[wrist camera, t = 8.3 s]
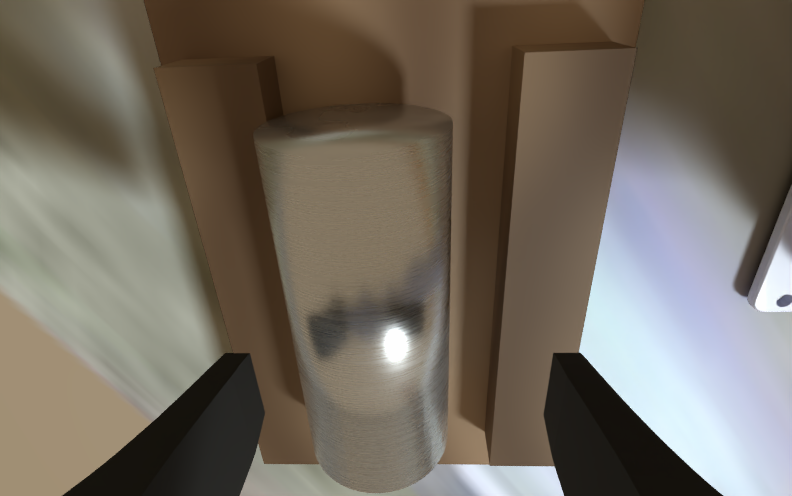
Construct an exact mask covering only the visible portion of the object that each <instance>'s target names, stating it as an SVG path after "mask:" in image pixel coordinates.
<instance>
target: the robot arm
mask: <svg viewBox="0 0 792 496" xmlns="http://www.w3.org/2000/svg"><path fill="white" fill-rule="evenodd" d="M783 295H784V296H783ZM781 296H783V297H782V298H780V299H779V300H778V298H779V297H781ZM747 300H748V303H749V304H750V305H751V306H752V307H753V308H754V309H756V310H757V311H761V312H792V185H791V187H790V190H789V192H788V195H787V197H786V200H785V202H784V205H783V207H782V210H781V213H780V215H779V218H778V220H777V223H776V225H775V228H774V230H773V233H772V235H771V238H770V240H769V243H768V246H767V248H766V251H765V253H764V256H763V258H762V261H761V263H760V266H759V268H758V271H757V274H756V276H755V279H754V281H753V284H752V286H751V289H750V291H749V294H748V298H747ZM543 415H544V420H545V425H546V431H547V436H548V441H549V445H550V450H551V455H552V459H553V462H554V465H555V468H556V471H557V475H558V478H559V481H560V484H561V487H562V490H563V493H564V496H723V495H722V494H720V493H719V492H718V491H717V490H716V489H714V488H713V487H712V486H711V485H710V484H708V483H707V482H706V481H705V480H704V479H703V478H702V477H701V476H699V475H698V474H697V473H696V472H695V471H694V470H693V469H692V468H691V467H690V466H688V465H687V464H686V463H685V462H684V461H683V460H682V459H681V458H680V457H679V456H678V455H677V454H676V453H675V452H674V451H673V450H672V449H670V448H669V447H668V446H667V445H666V444H665V443H664V442H663V441H662V440H661V439H660V438H659V437H658V436H657V435H656V434H655V433H654V432H653V431H652V430H651V429H650V428H649V427H648V426H647V425H646V424H645V422H644V421H643V420H642V419H641V418H640V417H639V416H638V415H637V414H636V413H635V412H634V411H633V410H632V409H631V408H630V407H629V406H628V405H627V404H626V403H625V402H624V401H623V399H622V398H621V397H620V396H619V395H618V394H617V393H616V392H615V391H614V390H613V388H612V387H611V386H610V385H609V384H608V383H607V382H606V381H605V380H604V378H603V377H602V376H601V375H600V374H599V373H598V372H597V371H596V369H595V368H594V367H593V366H592V365H591V364H590V363H589V362H588V360H587V359H586V358H585V357H584V356H583V355H582V354H581V353H553V358H552V364H551V370H550V377H549V383H548V389H547V395H546V402H545V408H544V414H543ZM264 416H265V410H264V406H263V402H262V398H261V394H260V390H259V387H258V383H257V379H256V375H255V371H254V367H253V363H252V359H251V355H250V353H225V354H224V355H223V356H222V357H221V358H220V359H219V360H218V361H216V362H215V363H214V364H213V365H212V366H211V367H210V368H209V369H208V370H207V371H206V372H205V373H204V374H203V375H202V376H201V377H200V378H199V379H198V380H197V381H196V382H195V383H194V384H193V385H192V386H191V387H189V388H188V389H187V390H186V391H185V392H184V393H183V394H182V395H181V396H180V397H179V398H178V399H177V400H176V401H175V402H174V403H173V404H172V405H171V406H169V407H168V408H167V409H166V410H165V411H164V412H163V413H162V414H161V415H160V416H159V417H158V418H157V419H156V420H154V421H153V422H152V423H151V424H150V425H149V426H148V427H146V428H145V429H144V430H143V431H142V432H141V433H139V434H138V435H137V436H136V437H135V438H134V439H133V440H132V441H130V442H129V443H128V444H127V445H126V446H124V447H123V448H122V449H121V450H120V451H119V452H118V453H116V455H114V456H113V457H112V458H110V459H109V460H108V461H107V462H106V463H104V464H103V465H102V466H100V467H99V468H98V469H97V470H95V471H94V472H93V473H92V474H90V475H89V476H88V477H86V478H85V479H84V480H82V481H81V482H80V483H79V484H77V485H76V486H75V487H73V488H72V489H71V490H70V491H68V492H67V493H65V494H64V495H63V496H239V495H240V493H241V490H242V488H243V485H244V482H245V480H246V477H247V474H248V472H249V469H250V466H251V464H252V461H253V458H254V455H255V452H256V448H257V445H258V441H259V437H260V433H261V429H262V424H263V420H264Z"/></svg>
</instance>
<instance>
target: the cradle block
mask: <svg viewBox="0 0 792 496" xmlns="http://www.w3.org/2000/svg"><path fill="white" fill-rule="evenodd" d="M644 1H645V0H144V3H145V7H146V11H147V14H148V18H149V22H150V25H151V29H152V33H153V37H154V40H155V44H156V48H157V51H158V55H159V59H160V62H161V66H159V67H156V68H154V71H155V75H156V79H157V82H158V86H159V89H160V93H161V97H162V100H163V104H164V107H165V111H166V114H167V118H168V122H169V125H170V129H171V132H172V136H173V139H174V143H175V147H176V150H177V154H178V157H179V161H180V164H181V168H182V172H183V175H184V179H185V182H186V186H187V190H188V193H189V197H190V200H191V204H192V207H193V211H194V215H195V218H196V222H197V225H198V229H199V232H200V236H201V240H202V243H203V247H204V250H205V254H206V258H207V261H208V265H209V268H210V272H211V275H212V279H213V283H214V286H215V290H216V293H217V297H218V300H219V304H220V308H221V311H222V315H223V318H224V322H225V325H226V329H227V333H228V336H229V340H230V343H231V347H232V351H233V353H250V355H251V359H252V363H253V367H254V371H255V375H256V379H257V383H258V387H259V390H260V394H261V398H262V402H263V406H264V410H265V416H264V420H263V424H262V429H261V433H260V437H259V441H258V444H259V447H260V451H261V454H262V458H263V461H264V464H319V462H318V460H317V458H316V455H315V452H314V448H313V442H312V437H311V432H310V427H309V422H308V417H307V411H306V406H305V401H304V396H303V391H302V386H301V381H300V375H299V370H298V365H297V360H296V355H295V350H294V344H293V339H292V334H291V329H290V324H289V319H288V313H287V308H286V303H285V298H284V293H283V288H282V282H281V277H280V272H279V267H278V262H277V257H276V251H275V246H274V241H273V236H272V231H271V226H270V220H269V215H268V210H267V205H266V200H265V195H264V189H263V184H262V179H261V174H260V169H259V164H258V158H257V153H256V148H255V143H254V138H253V133H254V131H255V130H256V128H258V127H259V126H260V125H262V124H263V123H265V122H267V121H269V120H271V119H274V118H277V117H280V116H283V115H286V114H290V113H294V112H298V111H302V110H307V109H313V108H319V107H326V106H334V105H345V104H362V103H394V104H407V105H416V106H422V107H428V108H432V109H435V110H438V111H441V112H443V113H445V114H447V115H448V116H450V117H451V119H452V121H453V149H452V209H451V268H450V328H449V387H448V436H447V443H446V447H445V450H444V453H443V455H442V457H441V459H440V460H439V462H438V463H437V464H490V466H555V465H554V462H553V459H552V455H551V450H550V445H549V441H548V436H547V431H546V425H545V420H544V415H543V414H544V408H545V402H546V395H547V389H548V383H549V377H550V370H551V364H552V358H553V353H579V347H580V342H581V337H582V332H583V327H584V321H585V316H586V311H587V306H588V301H589V296H590V290H591V285H592V280H593V275H594V270H595V264H596V259H597V254H598V249H599V244H600V239H601V233H602V228H603V223H604V218H605V213H606V207H607V202H608V197H609V192H610V187H611V182H612V176H613V171H614V166H615V161H616V156H617V150H618V145H619V140H620V135H621V130H622V125H623V119H624V114H625V109H626V104H627V99H628V93H629V88H630V83H631V78H632V73H633V68H634V62H635V57H636V52H637V48H636V43H637V38H638V32H639V27H640V22H641V17H642V12H643V6H644Z"/></svg>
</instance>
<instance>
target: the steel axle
mask: <svg viewBox="0 0 792 496" xmlns="http://www.w3.org/2000/svg"><path fill="white" fill-rule="evenodd" d="M253 138H254V143H255V148H256V153H257V158H258V164H259V169H260V174H261V179H262V184H263V189H264V195H265V200H266V205H267V210H268V215H269V220H270V226H271V231H272V236H273V241H274V246H275V251H276V257H277V262H278V267H279V272H280V277H281V282H282V288H283V293H284V298H285V303H286V308H287V313H288V319H289V324H290V329H291V334H292V339H293V344H294V350H295V355H296V360H297V365H298V370H299V375H300V381H301V386H302V391H303V396H304V401H305V406H306V411H307V417H308V422H309V427H310V432H311V437H312V442H313V448H314V452H315V455H316V458H317V460H318V462H319V464H320V466H321V467H322V469H323V470H324V471H325V472H326V473H327V474H328V475H329V476H330V477H331V478H332V479H333V480H335V481H336V482H338V483H339V484H341V485H343V486H345V487H348V488H350V489H353V490H357V491H361V492H367V493H384V492H391V491H396V490H400V489H402V488H405V487H408V486H410V485H412V484H414V483H416V482H418V481H419V480H421V479H422V478H423V477H425V476H426V475H427V474H428V473H429V472H430V471H432V469H433V468H434V467H435V466H436V465H437V463H438V462H439V460H440V459H441V457H442V455H443V453H444V450H445V447H446V443H447V436H448V387H449V328H450V268H451V209H452V149H453V121H452V119H451V117H450V116H448V115H447V114H445V113H443V112H441V111H438V110H435V109H432V108H428V107H422V106H416V105H407V104H394V103H362V104H345V105H334V106H326V107H319V108H313V109H307V110H302V111H298V112H294V113H290V114H286V115H283V116H280V117H277V118H274V119H271V120H269V121H267V122H265V123H263V124H262V125H260V126H259V127H258V128H256V130H255V131H254V133H253Z"/></svg>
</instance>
